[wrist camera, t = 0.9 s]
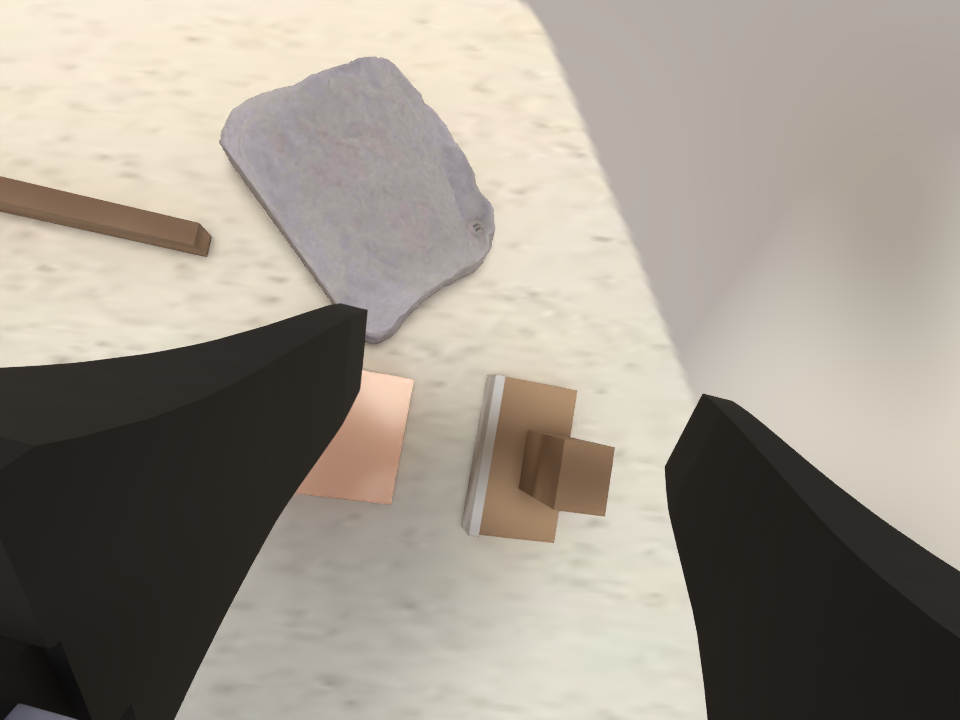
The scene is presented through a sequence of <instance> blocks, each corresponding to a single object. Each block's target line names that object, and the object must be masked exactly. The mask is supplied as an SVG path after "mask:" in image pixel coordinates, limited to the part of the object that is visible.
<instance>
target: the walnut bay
mask: <svg viewBox="0 0 960 720" xmlns="http://www.w3.org/2000/svg"><path fill="white" fill-rule="evenodd" d="M0 211H1V212H6V213H11V214H15V215H20V216H24V217H29V218H33V219H38V220H42V221H47V222H51V223H56V224H60V225H65V226H70V227H74V228H79V229H83V230H88V231H92V232H97V233H101V234H106V235H110V236H115V237H119V238H124V239H129V240H133V241H138V242H142V243H147V244H151V245H156V246H160V247H165V248H169V249H174V250H178V251H183V252H188V253H192V254H197V255H201V256H206V257H207V253H208V249H209V245H210V240H211V235H210V234H209V233H208V232H207V231H206V230H205V229H204V228H203V227H202V226H201V225H200V224H199V223H197V222H193V221H188V220H184V219H180V218H175V217H171V216H167V215H163V214H158V213H154V212H150V211H146V210H141V209H137V208H133V207H129V206H124V205H120V204H116V203H111V202H107V201H103V200H99V199H94V198H90V197H86V196H82V195H77V194H73V193H69V192H65V191H60V190H56V189H52V188H48V187H43V186H39V185H35V184H30V183H26V182H22V181H18V180H13V179H9V178H5V177H1V176H0Z"/></svg>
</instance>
